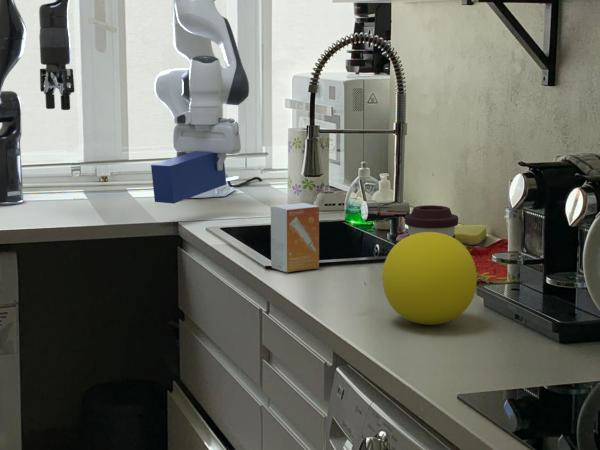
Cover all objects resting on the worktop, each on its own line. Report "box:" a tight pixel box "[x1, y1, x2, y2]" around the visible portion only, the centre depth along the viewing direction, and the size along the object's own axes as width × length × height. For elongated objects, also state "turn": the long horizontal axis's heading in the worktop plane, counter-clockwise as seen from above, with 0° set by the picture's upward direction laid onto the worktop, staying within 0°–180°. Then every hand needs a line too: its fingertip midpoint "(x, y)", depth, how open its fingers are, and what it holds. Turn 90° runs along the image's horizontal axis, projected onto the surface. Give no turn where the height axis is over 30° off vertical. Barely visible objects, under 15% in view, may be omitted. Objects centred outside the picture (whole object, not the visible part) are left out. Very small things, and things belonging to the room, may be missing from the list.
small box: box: [270, 202, 320, 273], centre depth 214 cm, size 8×6×13 cm
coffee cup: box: [404, 204, 459, 239], centre depth 197 cm, size 10×10×15 cm
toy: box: [381, 232, 478, 326], centre depth 170 cm, size 15×15×15 cm
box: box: [150, 152, 226, 205], centre depth 274 cm, size 22×6×10 cm, turn 147°
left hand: (58, 109), depth 270 cm, fingers open, 8 cm apart
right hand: (207, 169), depth 280 cm, fingers closed on box, 6 cm apart
